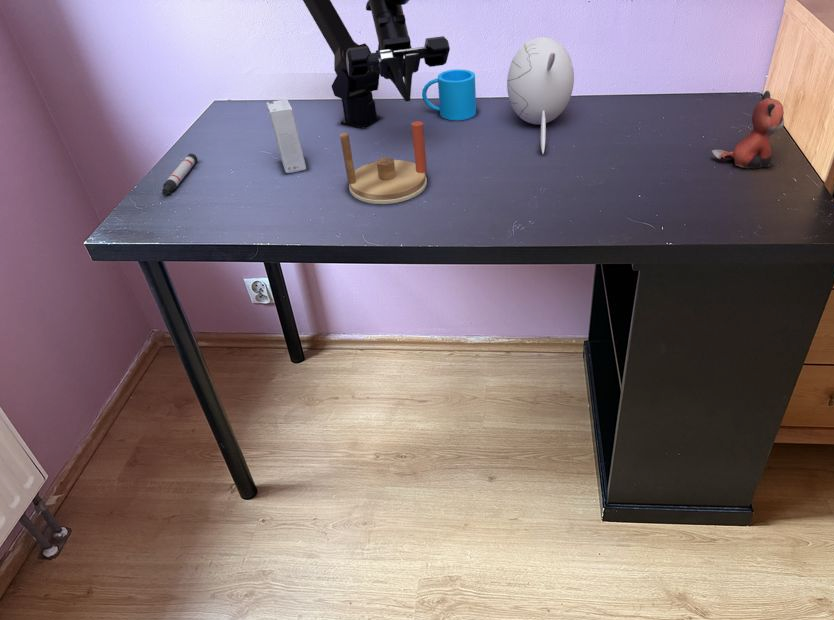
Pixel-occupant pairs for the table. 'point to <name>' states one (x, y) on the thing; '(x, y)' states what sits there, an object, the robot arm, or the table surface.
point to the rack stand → (389, 201)
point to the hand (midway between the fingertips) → (407, 100)
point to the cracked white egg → (540, 82)
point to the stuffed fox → (757, 136)
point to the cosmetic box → (286, 135)
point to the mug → (454, 94)
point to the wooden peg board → (387, 171)
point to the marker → (179, 174)
